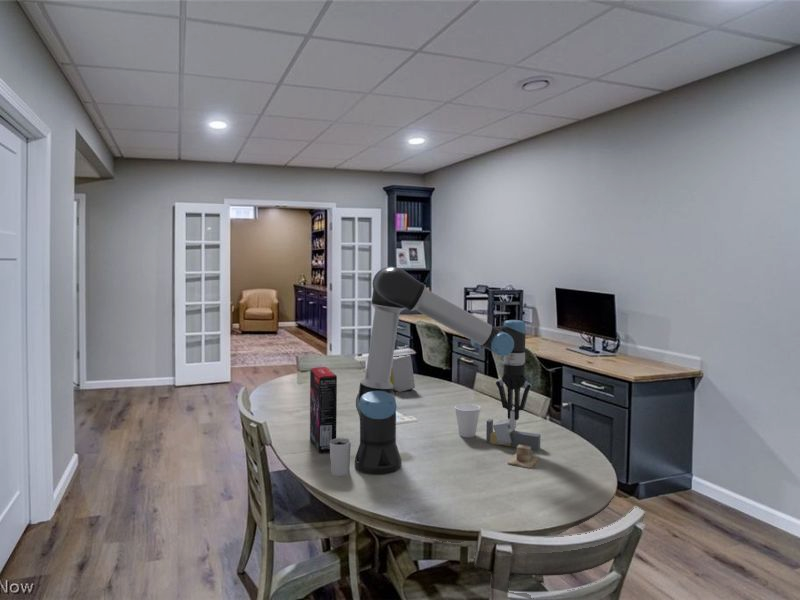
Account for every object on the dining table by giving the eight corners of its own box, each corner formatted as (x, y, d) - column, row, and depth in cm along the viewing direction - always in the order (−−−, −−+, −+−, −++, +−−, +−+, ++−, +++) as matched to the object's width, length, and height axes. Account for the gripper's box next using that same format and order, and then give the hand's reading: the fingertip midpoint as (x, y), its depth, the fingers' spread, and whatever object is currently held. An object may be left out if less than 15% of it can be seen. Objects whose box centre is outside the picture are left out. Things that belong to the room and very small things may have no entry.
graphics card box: (308, 439, 206) (308, 367, 204) (327, 437, 209) (326, 366, 207) (318, 455, 190) (318, 376, 188) (338, 452, 193) (338, 375, 191)
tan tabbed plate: (507, 464, 182) (507, 449, 182) (515, 454, 191) (516, 440, 191) (531, 468, 179) (532, 453, 178) (539, 458, 188) (539, 444, 187)
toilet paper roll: (325, 472, 175) (325, 441, 174) (342, 466, 180) (341, 436, 179) (338, 478, 170) (338, 446, 170) (355, 472, 175) (355, 441, 174)
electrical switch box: (378, 391, 290) (372, 354, 288) (403, 384, 296) (398, 348, 294) (389, 397, 277) (383, 359, 274) (415, 390, 283) (410, 352, 280)
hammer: (486, 442, 204) (486, 421, 203) (488, 440, 206) (489, 419, 206) (538, 450, 195) (538, 428, 194) (540, 448, 198) (540, 426, 197)
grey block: (498, 444, 199) (493, 425, 200) (504, 438, 206) (499, 420, 206) (511, 442, 197) (506, 423, 198) (517, 436, 204) (511, 418, 204)
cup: (459, 440, 206) (460, 411, 205) (450, 432, 215) (450, 404, 214) (484, 438, 208) (485, 409, 207) (474, 430, 218) (474, 403, 217)
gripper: (493, 363, 198) (492, 428, 200) (529, 366, 192) (528, 433, 194) (499, 360, 205) (498, 422, 206) (534, 363, 199) (533, 427, 201)
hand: (513, 428), depth 200 cm, fingers closed
